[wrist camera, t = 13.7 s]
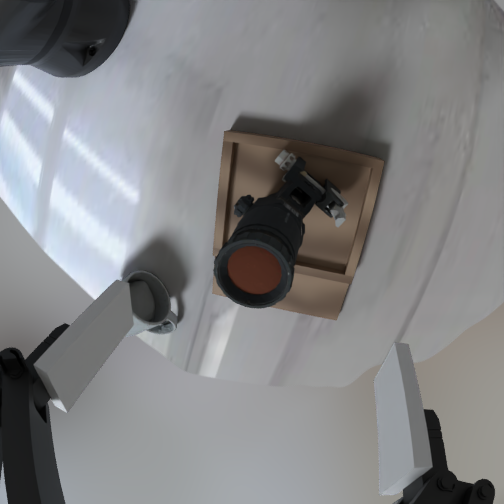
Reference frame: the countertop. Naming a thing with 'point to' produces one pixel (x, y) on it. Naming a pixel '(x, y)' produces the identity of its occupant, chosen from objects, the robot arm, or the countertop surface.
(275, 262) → the scope
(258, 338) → the countertop surface
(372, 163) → the wooden tray
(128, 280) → the ceramic mug
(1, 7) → the robot arm
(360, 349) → the countertop surface
